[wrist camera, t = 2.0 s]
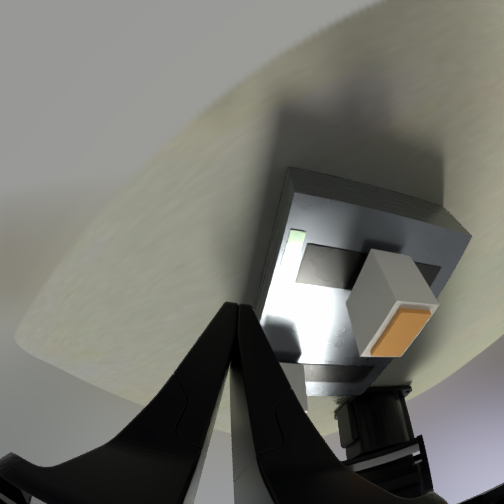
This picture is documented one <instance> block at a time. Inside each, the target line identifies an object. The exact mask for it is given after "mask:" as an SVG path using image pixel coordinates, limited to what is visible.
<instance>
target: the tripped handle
mask: <svg viewBox="0 0 504 504" xmlns="http://www.w3.org/2000/svg"><path fill="white" fill-rule="evenodd" d="M438 306H439V303H438V302H437V300H436V298H435V296H434V295H433V293H432V291H431V289H430V288H429V286H428V284H427V283H426V281H425V279H424V278H423V276H422V274H421V273H420V271H419V269H418V268H417V266H416V265H415V263H414V261H413V260H412V258H411V257H410V256H408V255H402V254H397V253H392V252H387V251H381V250H376V249H371V250H370V252H369V254H368V257H367V259H366V261H365V263H364V265H363V268H362V270H361V272H360V274H359V276H358V278H357V281H356V283H355V285H354V287H353V289H352V291H351V293H350V295H349V297H348V299H347V301H346V307H347V310H348V314H349V317H350V321H351V324H352V328H353V332H354V335H355V339H356V343H357V347H358V351H359V355H360V357H401V356H402V355H403V354H404V352H405V351H406V350H407V349H408V347H409V346H410V345H411V344H412V342H413V341H414V340H415V338H416V337H417V336H418V334H419V333H420V332H421V330H422V329H423V328H424V326H425V325H426V323H427V322H428V321H429V319H430V318H431V316H432V315H433V314H434V312H435V311H436V309H437V308H438Z"/></svg>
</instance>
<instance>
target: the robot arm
mask: <svg viewBox="0 0 504 504" xmlns="http://www.w3.org/2000/svg"><path fill="white" fill-rule="evenodd" d="M229 365H230V408H231V437H232V460H233V461H232V462H233V482H234V501H235V504H448V503H447V501H445V500H444V499H443V498H442V497H440V496H439V495H438V494H436V493H434V490H433V484H432V478H431V473H430V468H429V463H428V458H427V454H426V449H425V445H424V441H423V437H422V435H419V436H417V438H414V434H413V430H412V425H411V421H410V417H409V414H408V410H407V406H406V402H405V399H404V398H405V397H406V396H407V395H408V394H409V393H410V392H411V391H412V387H411V386H401V387H385V388H367V389H366V390H365V392H364V393H363V394H362V395H356V396H352V397H351V398H350V399H349V400H348V401H347V402H346V403H345V404H344V406H343V407H342V408H341V409H340V410H339V411H338V412H337V413H336V414H335V415H334V418H335V420H338V427H339V435H340V442H341V447H342V448H346V456H347V460H345V461H339V459H338V458H337V457H336V456H335V454H334V453H333V452H332V450H331V449H330V448H329V446H328V445H327V443H326V442H325V441H324V439H323V438H322V436H321V435H320V434H319V432H318V431H317V429H316V428H315V426H314V425H313V423H312V422H311V420H310V419H309V417H308V416H307V414H306V413H305V411H304V409H303V407H302V406H301V404H300V402H299V400H298V398H297V396H296V394H295V392H294V390H293V389H291V388H292V387H291V385H290V383H289V381H288V379H287V377H286V375H285V373H284V371H283V369H282V367H281V365H280V363H279V361H278V359H277V357H276V355H275V353H274V351H273V349H272V347H271V345H270V343H269V341H268V338H267V336H266V334H265V332H264V330H263V328H262V326H261V324H260V322H259V320H258V318H257V316H256V314H255V312H254V310H253V308H252V306H251V305H247V304H239V305H238V304H237V303H233V302H225V303H224V304H223V305H222V307H221V308H220V309H219V311H218V312H217V314H216V315H215V316H214V318H213V319H212V321H211V322H210V323H209V325H208V326H207V327H206V329H205V330H204V332H203V333H202V334H201V336H200V337H199V339H198V340H197V341H196V343H195V344H194V345H193V347H192V348H191V350H190V351H189V352H188V354H187V355H186V356H185V358H184V359H183V361H182V362H181V363H180V365H179V366H178V367H177V369H176V370H175V372H174V374H172V376H171V377H170V378H169V380H168V381H167V382H166V384H165V385H164V386H163V387H162V389H161V390H160V391H159V392H158V394H157V395H156V396H155V397H154V398H153V399H152V400H151V402H150V403H149V404H148V405H147V406H146V407H145V408H144V409H143V410H142V411H141V412H140V413H139V414H138V415H137V416H136V417H135V418H134V419H133V420H132V421H131V422H130V423H129V424H128V425H127V426H126V427H125V428H124V429H123V430H122V431H121V432H120V433H119V434H117V435H116V436H115V437H114V438H113V439H111V440H110V441H109V442H107V443H106V444H104V445H102V446H100V447H98V448H96V449H94V450H91V451H89V452H87V453H85V454H82V455H80V456H78V457H76V458H73V459H71V460H69V461H66V462H64V463H61V464H59V465H56V466H52V467H41V466H37V465H34V464H32V463H30V462H28V461H27V460H25V459H23V458H22V457H20V456H18V455H16V454H14V453H12V452H10V453H9V454H7V455H5V456H4V457H2V458H1V459H0V504H193V503H194V499H195V496H196V492H197V488H198V485H199V481H200V477H201V473H202V470H203V466H204V462H205V458H206V454H207V451H208V447H209V443H210V439H211V435H212V432H213V428H214V424H215V420H216V416H217V413H218V409H219V405H220V401H221V397H222V393H223V389H224V386H225V382H226V378H227V374H228V370H229ZM417 451H420V454H418V455H416V456H413V454H412V453H415V452H417ZM458 504H504V483H502V484H500V485H498V486H496V487H494V488H492V489H490V490H488V491H486V492H483V493H481V494H479V495H477V496H474V497H472V498H470V499H467V500H465V501H463V502H461V503H458Z"/></svg>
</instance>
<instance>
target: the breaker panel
mask: <svg viewBox="0 0 504 504" xmlns="http://www.w3.org/2000/svg"><path fill="white" fill-rule="evenodd" d="M471 237H472V236H471V235H470V233H469V232H468V231H467V230H466V229H465V228H464V227H463V226H462V225H461V224H460V223H459V222H458V221H457V220H456V219H455V218H454V217H453V216H452V215H451V214H450V213H449V212H448V211H447V210H446V209H445V208H444V207H441V206H438V205H435V204H432V203H429V202H426V201H423V200H419V199H416V198H413V197H410V196H406V195H403V194H400V193H396V192H393V191H389V190H385V189H382V188H378V187H374V186H371V185H367V184H363V183H359V182H355V181H351V180H347V179H343V178H339V177H334V176H330V175H326V174H321V173H317V172H312V171H307V170H302V169H297V168H292V167H288V168H287V172H286V177H285V181H284V185H283V190H282V194H281V198H280V203H279V207H278V211H277V215H276V220H275V224H274V228H273V232H272V237H271V241H270V245H269V249H268V253H267V257H266V262H265V266H264V270H263V274H262V278H261V282H260V286H259V290H258V294H257V298H256V302H255V306H254V312H255V314H256V316H257V318H258V320H259V322H260V324H261V326H262V328H263V330H264V332H265V334H266V336H267V338H268V341H269V343H270V345H271V347H272V349H273V351H274V353H275V355H276V357H277V359H278V361H279V362H280V363H292V364H304V373H305V383H306V394H307V395H313V396H356V395H362V394H363V393H364V392H365V390H366V389H367V388H368V387H369V386H370V385H371V384H372V383H373V382H374V380H375V379H376V378H377V377H378V376H379V375H380V374H381V372H382V371H383V370H384V369H385V368H386V366H387V365H388V364H389V363H390V362H391V360H392V359H393V358H394V357H360V355H359V351H358V347H357V343H356V339H355V335H354V332H353V328H352V324H351V321H350V317H349V314H348V310H347V307H346V301H347V299H348V297H349V295H350V293H351V291H352V289H353V287H354V285H355V283H356V281H357V278H358V276H359V274H360V272H361V270H362V268H363V265H364V263H365V261H366V259H367V257H368V254H369V252H370V250H371V249H376V250H381V251H387V252H392V253H397V254H402V255H408V256H410V257H411V258H412V260H413V261H414V263H415V265H416V266H417V268H418V269H419V271H420V273H421V274H422V276H423V278H424V279H425V281H426V283H427V284H428V286H429V288H430V289H431V291H432V293H433V295H434V296H435V298H437V297H438V295H439V294H440V292H441V291H442V289H443V287H444V286H445V284H446V283H447V281H448V279H449V278H450V276H451V274H452V272H453V271H454V269H455V267H456V265H457V264H458V262H459V260H460V258H461V256H462V255H463V253H464V251H465V249H466V247H467V245H468V243H469V241H470V239H471Z"/></svg>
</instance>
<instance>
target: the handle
mask: <svg viewBox="0 0 504 504" xmlns="http://www.w3.org/2000/svg"><path fill="white" fill-rule="evenodd" d="M279 363H280V362H279ZM280 365H281V367H282V369H283V371H284V373H285V375H286V377H287V379H288V381H289V383H290V385H291V387H292V388H291V389H293V390H294V392H295V394H296V396H297V398H298V400H299V402H300V404H301V406H302V407H303V409H304V411H305V413H307V412H308V406H307V394H306V383H305V373H304V364H292V363H280Z"/></svg>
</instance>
